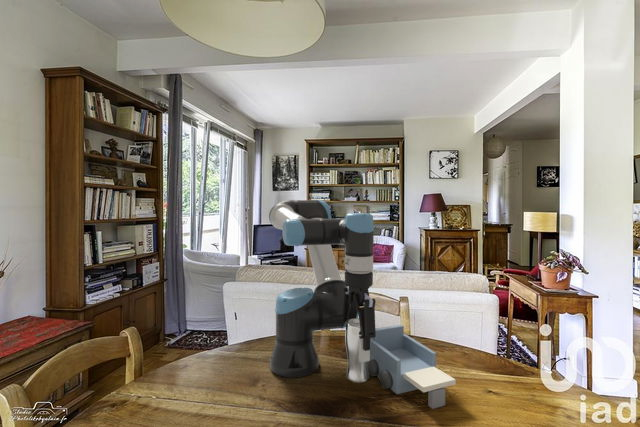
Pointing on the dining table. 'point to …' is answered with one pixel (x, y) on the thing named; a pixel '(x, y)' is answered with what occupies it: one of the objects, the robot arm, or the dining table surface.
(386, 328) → the trailer
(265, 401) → the dining table surface
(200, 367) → the dining table surface
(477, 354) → the dining table surface
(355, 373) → the beer glass
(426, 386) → the tailgate
